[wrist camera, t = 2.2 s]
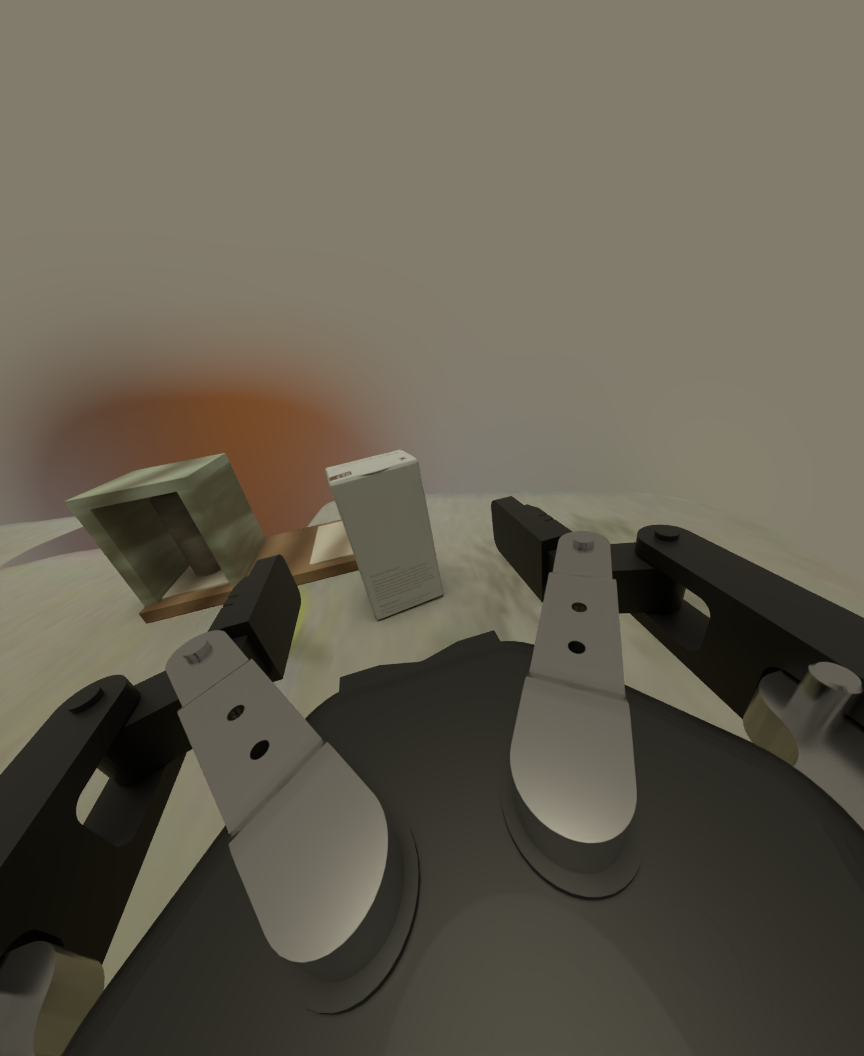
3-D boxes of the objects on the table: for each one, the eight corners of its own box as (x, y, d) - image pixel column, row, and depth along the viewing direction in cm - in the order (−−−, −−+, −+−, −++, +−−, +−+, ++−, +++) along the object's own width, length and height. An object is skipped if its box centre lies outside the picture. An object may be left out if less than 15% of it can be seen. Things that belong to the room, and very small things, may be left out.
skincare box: (427, 571, 30) (403, 445, 24) (446, 598, 26) (422, 457, 20) (364, 593, 28) (323, 465, 23) (375, 626, 25) (328, 481, 19)
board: (146, 623, 29) (53, 506, 24) (197, 561, 39) (140, 468, 33) (414, 555, 33) (389, 438, 27) (400, 514, 42) (380, 421, 37)
